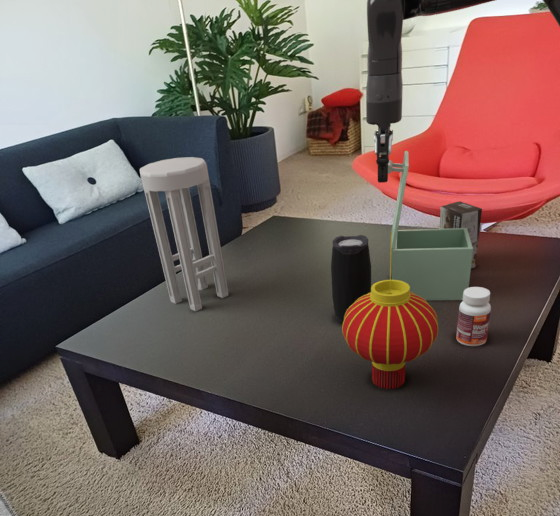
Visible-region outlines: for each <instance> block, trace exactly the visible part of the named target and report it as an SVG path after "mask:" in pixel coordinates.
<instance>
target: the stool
mask: <svg viewBox="0 0 560 516" xmlns="http://www.w3.org/2000/svg"><path fill="white" fill-rule="evenodd" d="M139 174H140V179H141V183H142V188H143V192H144V196H145V198H146V204H147V208H148V211H149V216H150V221H151V225H152V230H153V234H154V238H155V241H156V245H157V250H158V253H159V258H160V262H161V267H162V271H163V275H164V279H165V283H166V287H167V292H168V296H169V300H170V302H171V303H172V304H175V305H177V304H179V303H181V302H183V298H182V294H181V290H180V286H179V285H180V284H179V280H178V276H177V272H180V271H181V272H182V277H183V281H184V286H185V291H186V296H187V301H188V304H189V309H190V310H191V311H194V312H198V311H200V310H202V309H203V305H202V300H201V295H200V291H204V290H206V289H208V288H209V286H208V280H207V279H208V278H207V276H208V275H210V274H212V277H213V281H214V286H215V293H216V295H217V297H219V298H221V299H224V298H226V297H228V296H229V295H230V294H229V289H228V288H229V287H228V283H227V277H226V276H227V275H226V271H225V265H224V260H223V259H224V258H223V253H222V248H221V242H220V235H219V230H218V229H219V228H218V224H217V217H216V213H215V206H214V200H213V195H212V194H213V193H212V188H211V182H210V175H209V169H208V164H207V162H206V160H205V159H204V158H202V157H195V156H188V157H174V158H167V159H161V160H158V161H154V162H150V163H148V164H146V165H144V166H142V167H140V168H139ZM195 186H196V187H197V193H198V198H199V204H200V209H201V215H202V221H203V226H204V231H205V237H206V243H207V247H208V254H209V255H207V256H204V257H203V254H202V249H201V243H200V238H199V234H198V233H199V232H198V228H197V222H196V218H195V213H194V207H193V202H192V197H191V192H190V188H192V187H195ZM159 192H164V194H165V200H166V203H167V208H168V213H169V218H170V221H171V227H172V231H173V235H174V240H175V244H176V249H177V253H175V254H173V253H172V250H171V244H170V241H169V236H168V231H167V228H166V223H165V219H164V213H163V210H162V205H161V200H160V195H159ZM177 260H179V264H178V265H175V264H174V262H175V261H177ZM209 262H210V265H211V266H209V267H207V268H205V264H207V263H209Z"/></svg>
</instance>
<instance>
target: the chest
mask: <svg viewBox="0 0 560 516" xmlns="http://www.w3.org/2000/svg"><path fill="white" fill-rule="evenodd" d="M472 254H473V247H472V244H471V240H470V237H469V233H468V230H467V228H449V229H439V228H422V229H421V228H420V229H419V228H417V229H416V228H415V229H398V232H397V238H396V244H395V249H393V248H392V267H391V276H392V277H391V280H400V281H403V282H406V283H407V284H408V285H409V286H410V292H412V293H414V294H415V295H418V296H420V297H422V298H423V299H425V300H426V301H463V292H464V290H465V289H467V288H470V281H471V280H470V279H471V271H472V268H471V262H472Z"/></svg>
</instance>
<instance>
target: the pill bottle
mask: <svg viewBox="0 0 560 516" xmlns="http://www.w3.org/2000/svg"><path fill="white" fill-rule="evenodd" d="M490 299H491V291H490V290H489V289H488V288H485V287H482V286H469V288H467V289H465V290H464V292H463V300H461V302H460V304H459V306H458V307H459V308H458V316H457V326H456V336H455V337H456V340H457V342H458V343H460V344H461V345H464V346H468V347H479V346H481V345H484V344H486V342H487V339H488V331H489V325H490V318H491V312H492V306H491V303H490Z"/></svg>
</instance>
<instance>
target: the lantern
mask: <svg viewBox="0 0 560 516" xmlns="http://www.w3.org/2000/svg"><path fill="white" fill-rule="evenodd" d="M391 246H392V231H390V247H391ZM389 252H390V256H389V262H390V263H389V265H390V266H389V279H384V280H379V281H376V282H375V283H373V284H371V292H370V293H368V294H367V295H364V296H362V297H360V298H358V299H357V300H356V301H355V302H354V303H353V304H352V305H351V306H350V307H349V308H348V310H347V311H346V313H345V316H344V322H343V324H341V325H342V327H341V332H342V336H343V338H344V341H346V344H347V346H348V348H349V349H350V350H351V351H352V352H353V353H355V354H356V355H358V356H359V357H360V358H361V359H362V360H364V361H368V362H371V380H372V382H373V383H372V384H374V385H375V386H376V387H378V388H380V389H382V388H383V389H386V390H388V389H389V390H391V389H396V388H399V387H401V386H403V384H405V381H406V363H409V362H413V361H414V360H416V359H418V358H419V357H421V356H423V355H425V354H426V353H427V352H428V351H429V350H430V348H431V347H432V345H433V344H434V343H435V341H436V339H437V337H438V334H439V323H438V322H439V321H438V315H437V312H436V311H435V310H434V308H433V307H432V305H430V304H429V302H428V300H425V299H423V298H422V297H420V296H418V295H415V294H414V293H412V292H410V286H409V285H408V284H407V283H406V282H403V281H400V280H392V277H391V276H392V248H390V250H389ZM377 374H378V375H377Z"/></svg>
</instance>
